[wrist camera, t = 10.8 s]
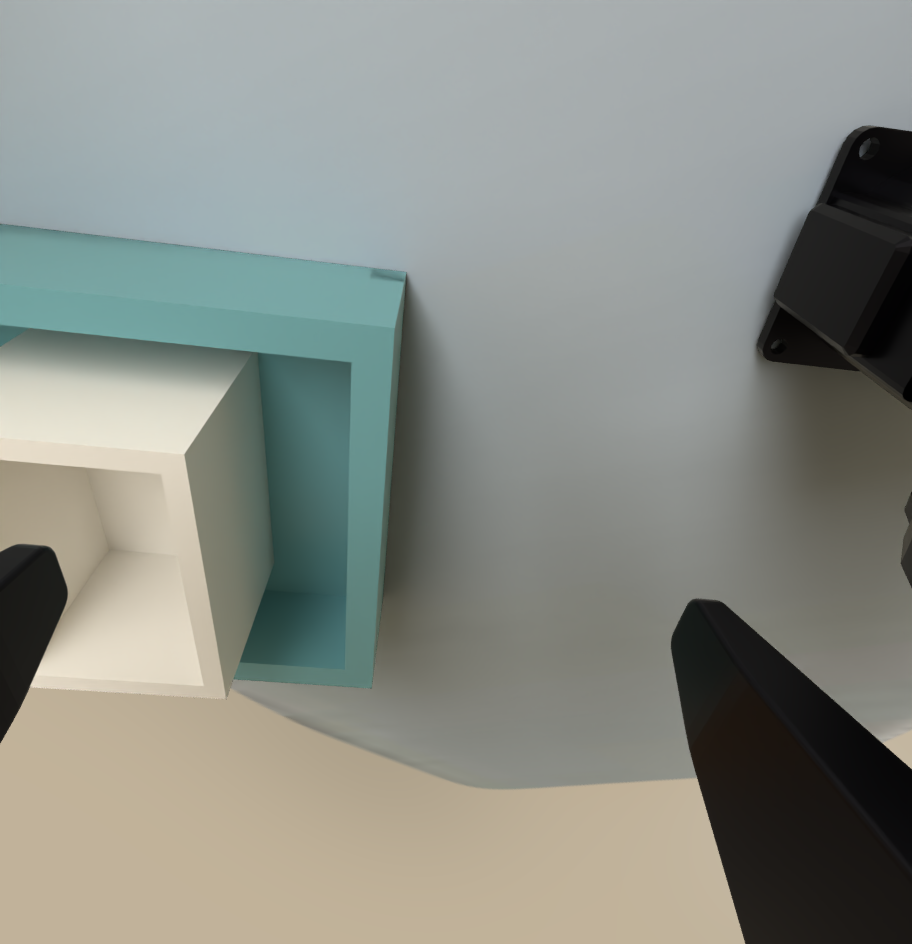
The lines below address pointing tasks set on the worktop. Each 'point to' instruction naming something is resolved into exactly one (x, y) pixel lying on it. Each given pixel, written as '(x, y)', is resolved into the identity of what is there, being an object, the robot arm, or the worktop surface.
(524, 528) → the worktop surface
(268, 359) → the big crate
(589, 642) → the worktop surface
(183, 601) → the small crate
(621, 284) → the worktop surface
